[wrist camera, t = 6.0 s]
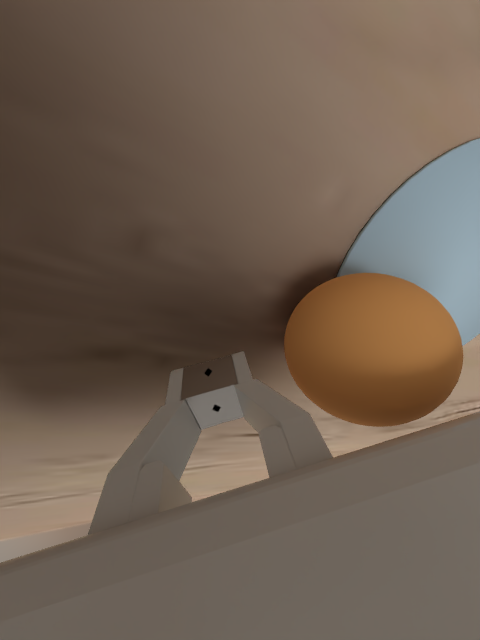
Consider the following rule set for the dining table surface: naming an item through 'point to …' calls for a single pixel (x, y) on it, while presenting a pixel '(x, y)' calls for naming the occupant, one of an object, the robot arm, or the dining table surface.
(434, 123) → the dining table surface
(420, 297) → the ball
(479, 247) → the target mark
